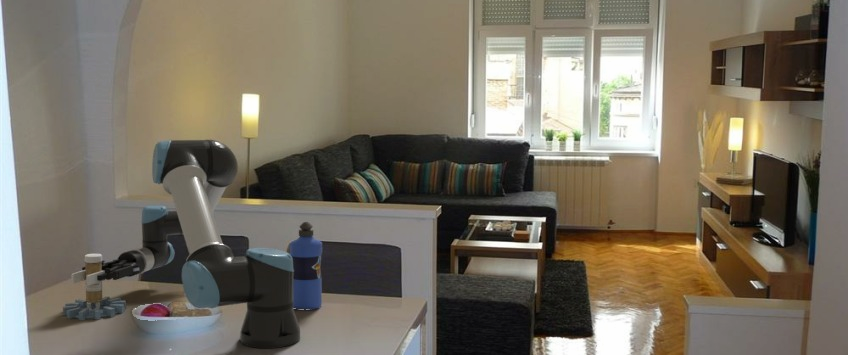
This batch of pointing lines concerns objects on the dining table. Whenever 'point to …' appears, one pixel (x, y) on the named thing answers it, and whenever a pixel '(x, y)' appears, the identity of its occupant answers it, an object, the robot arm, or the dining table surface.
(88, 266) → the sprinkles bottle
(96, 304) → the blue gear trivet
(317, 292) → the water bottle
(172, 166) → the robot arm
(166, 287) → the dining table surface
